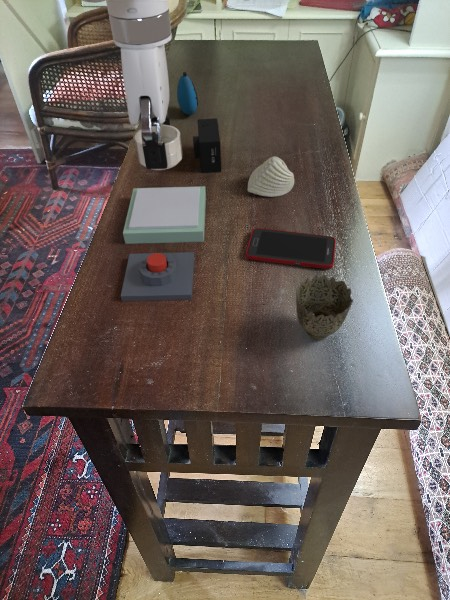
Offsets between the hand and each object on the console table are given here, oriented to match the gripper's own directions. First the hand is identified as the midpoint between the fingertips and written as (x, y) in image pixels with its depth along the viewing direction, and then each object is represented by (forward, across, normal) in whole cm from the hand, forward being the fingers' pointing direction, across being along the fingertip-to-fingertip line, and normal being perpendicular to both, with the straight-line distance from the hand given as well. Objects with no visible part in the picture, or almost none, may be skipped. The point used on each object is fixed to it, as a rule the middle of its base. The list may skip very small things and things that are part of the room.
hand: (159, 154), depth 71 cm
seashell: (+16, -15, +19) cm, 29 cm away
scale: (+16, -5, -1) cm, 17 cm away
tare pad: (+16, +11, -1) cm, 20 cm away
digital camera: (+16, -26, +6) cm, 31 cm away
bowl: (+1, 0, 0) cm, 1 cm away
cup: (+16, +23, +23) cm, 37 cm away
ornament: (+11, -48, 0) cm, 50 cm away
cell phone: (+16, +5, +21) cm, 27 cm away
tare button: (+13, +11, -1) cm, 17 cm away
